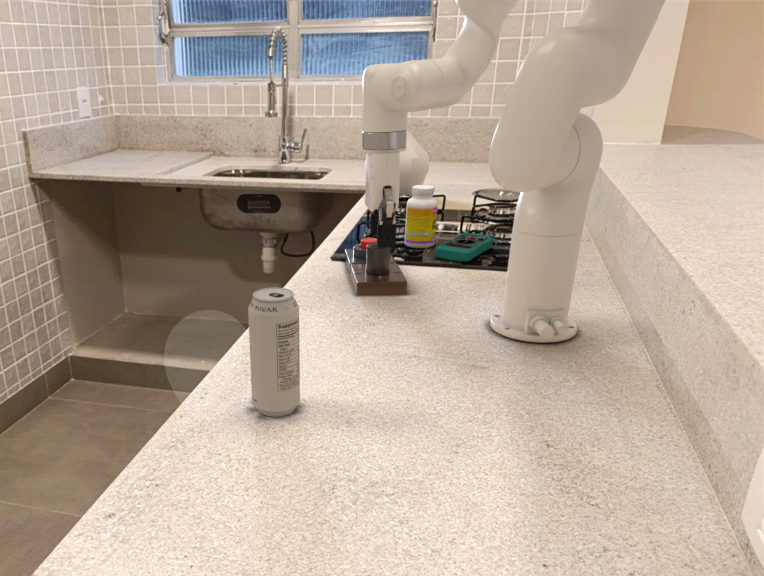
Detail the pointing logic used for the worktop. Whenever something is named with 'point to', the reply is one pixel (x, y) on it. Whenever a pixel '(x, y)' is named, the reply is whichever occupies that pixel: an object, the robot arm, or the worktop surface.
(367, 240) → the button
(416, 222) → the supplement bottle
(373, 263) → the dial
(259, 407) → the energy drink can
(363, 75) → the robot arm
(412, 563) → the worktop surface
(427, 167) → the vase
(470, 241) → the digital multimeter
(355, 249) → the button block
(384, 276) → the dial panel
